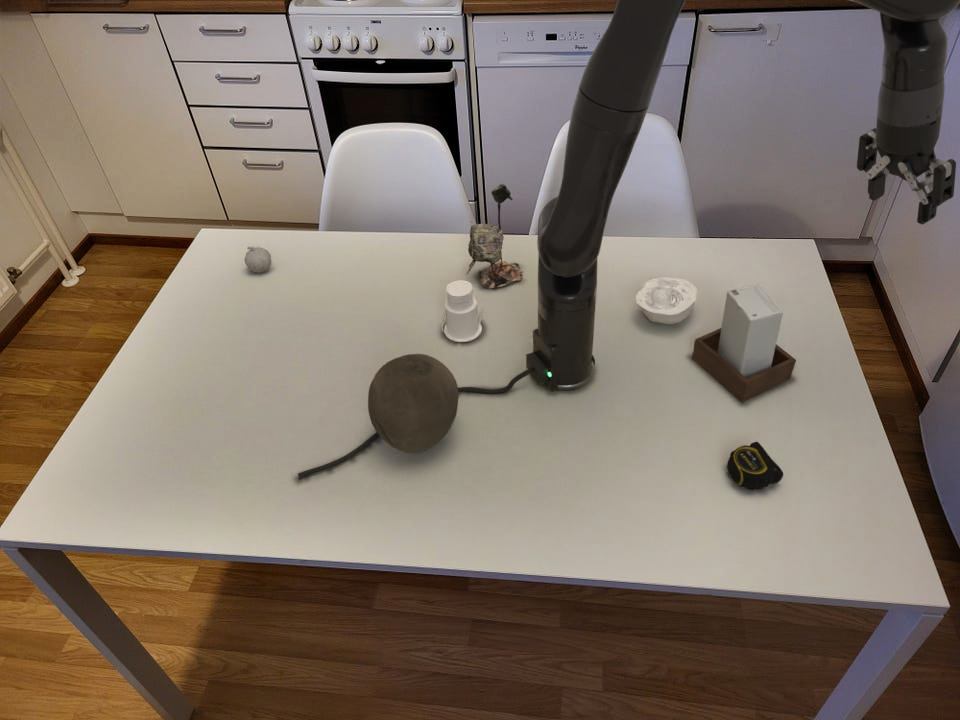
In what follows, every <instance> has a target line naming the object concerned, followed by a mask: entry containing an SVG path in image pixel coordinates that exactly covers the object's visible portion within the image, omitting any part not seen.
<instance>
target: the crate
mask: <svg viewBox="0 0 960 720" xmlns="http://www.w3.org/2000/svg"><path fill="white" fill-rule="evenodd" d="M721 328H722V327H720V328H718V329H715V330H713V331H711V332H709V333H706V334H704V335H702V336H700V337H697V338H695V339H694V345H693V350H692V355H691V359H692V360H694V362H695V363H696V364H698V365H699V366H700V368H702V369H703V370H704V371H706V373H708V374H709V375H710V376H711V377H712V378H713V379H715V380H716V381H717V382H718V384H720V385H721V386H722V387H724V388H725V389H726V390H727V391H728V392H729V393H730V394H731V395H733V396H734V397H735V398H736V399H737V400H738V401H739V402H740V403H741V404H743V403H745V402H746V401H749V400H751V399H753V398H755V397H757V396H759V395H761V394H763V393H765V392H767V391H769V390H772V389H774V388H775V387H778V386H780V385H781V384H784V383H786V382H787V381H789V380H791V379H792V375H793V371H794V368H795V365H796V362H797V359H796V358H795V357H793V356H792V355H791V354H790V353H788V352H787V351H786V350H784V349H783V348H782V347H781V346H779V345H778V344H777V343H776V346H775V351H774V356H773V360H772V365H771V368H769V369H767V370H765V371H763V372H761V373H759V374H757V375H755V376H753V377H751V378H748V379H747V378H745V377H744V376H743V375H742V374H741V373H740V372H738V371H737V370H736V369H735V368H734V367H733V366H731V365H730V364H729V363H728V362H727V361H726V360H724V359H723V358H722V357H721V356H720V355H719V354H717V353H718V346H719V340H720V334H721Z"/></svg>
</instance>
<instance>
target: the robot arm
mask: <svg viewBox="0 0 960 720" xmlns="http://www.w3.org/2000/svg"><path fill="white" fill-rule="evenodd" d="M686 1H687V0H617V2H616V5H615V8H614V12H613V14H612V17H611V20H610V21H609V24H608V25H607V28H606V30H605V31H604V33H603V34H602V37H601V39H600V40H599V41H598V43H597V45H596V46H595V48H594V50H593V52H592V53H591V55H590V57H589V60H588V61H587V63H586V65H585V68H584V71H583V73H582V76H581V79H580V82H579V85H578V90H577V93H576V96H575V99H574V103H573V107H572V112H571V116H570V120H569V125H568V129H567V137H566V144H565V150H564V159H563V160H564V161H563V170H562V177H561V184H560V188H559V191H558V195H557V196H555V197H553V198H552V199H550V200H549V201H548V202H547V203H546V204H545V205H544V206H543V208H542V209H541V211H540V213H539V217H538V222H537V223H538V224H537V225H538V226H537V240H536V244H537V253H538V255H537V328H535V329H533V330H532V352H529V353H526V354H525V358H526V359H525V360H526V363H525V364H526V365H525V367H526V370H524V371H522V372H521V373H518V374H517V375H516V376H514V377H513V378H512V379H511V380H510V381H509V383H508V384H507V385H506V386H503V387H501V388H495V389H493V388H491V389H490V388H482V387H476V386H475V387H473V386H462V387H461V386H460V387H458V394H459V393H476V394H477V393H478V394H484V395H485V394H486V395H499V394H503V393H507V392H509V391H510V390H511V389H512V388H513V387H514V385H515V384H516V383H517V382H519V381H520V380H522V379H524V378H525V377H527V376H529V375H531V376H532V378H533V379H534V381H535V383H536V384H537V385H538V386H539V385H543V384H544V385H545V386H546V387H547V388H548V389H549V391H550V392H555V391H572V390H577V389H579V388H581V387H584V385H586V384H587V383H588V382H589V381H590V379H591V378H592V374H593V366H594V367H595V366H596V359H595V357H594V355H593V354H594V353H593V352H594V335H595V334H594V333H595V318H596V304H597V291H598V290H597V289H598V261H599V259H598V258H599V255H600V252H601V248H602V243H603V238H604V232H605V229H606V224H607V221H608V216H609V210H610V208H611V205H612V201H613V199H614V195H615V193H616V190H617V188H618V186H619V184H620V181H621V179H622V176H623V174H624V173H625V169H626V168H627V165H628V163H629V160H630V157H631V155H632V152H633V149H634V147H635V144H636V142H637V139H638V137H639V134H640V132H641V129H642V126H643V125H644V121H645V118H646V116H647V114H648V113H647V112H648V109H649V107H650V104H651V100H652V98H653V94H654V92H655V88H656V86H657V85H656V84H657V82H658V79H659V75H660V73H661V71H662V67H663V64H664V61H665V57H666V54H667V50H668V48H669V43H670V40H671V37H672V35H673V31H674V28H675V26H676V24H677V21H678V19H679V16H680V14H681V11H682V10H683V8H684V5H685V3H686ZM848 1H850V2H854V3H857V4H860V5H862V6H864V7H866V8H869V9H871V10H874V11H876V12H879V20H880V26H881V33H882V39H883V52H882V53H883V54H882V65H881V80H880V87H879V91H878V95H877V96H878V97H877V110H876V125H875V127H874V128H872V129H870V130H869V131H867V132H865V133H864V134H862V135H860V136H859V140H858V147H857V148H858V149H857V159H856V169H857V171H860V172H862V171H864V173H865V176H866V178H867V193H868V198H869V200H870V201H873V202H875V201H877V200H879V199H880V198H882V197H884V195H885V191H886V177H887V174H886V173H885V172H886V171H888V174H890V175H893V176H896V177H899V178H901V180H903V181H905V182H906V183H907V184H908V186H909V188H910V190H911V191H913V192H916V194H917V196H918V199H919V202H918V209H917V218H916V222H917V223H918V224H920V225H924V224H926V223H928V222H930V221H931V220H934V219H935V218H936V216H937V209H938V207H940V206H941V205H942V204H944V203H945V202H947V201H948V200H951V199H953V197H954V195H955V185H956V184H955V182H956V172H957V161H956V160H955V159H953V158H950V159H948V160H946V161H944V160H942V159H939V158H937V156H936V153H935V147H936V145H937V143H938V141H939V137H940V132H941V123H942V116H943V107H944V101H945V90H946V89H945V87H946V85H945V73H946V65H947V56H948V49H949V48H948V47H949V44H948V43H949V42H948V35H947V33H946V31H945V28H944V26H943V25H942V23H941V19H943V18H944V17H946V16H948V15H949V14H951V13H953V11H954V10H956V8H957V7H958V6H959V5H960V0H848ZM878 154H879V156H880V159H879V160H877V157H878ZM923 174H925V177H924V178H923V179H921V180H920V181H919V180H918V178H920V176H923ZM926 186H927V188H928V189H929V192H928V191H927V189H926ZM379 437H380V436H379V434H378V433H377V432H376V431H375V433H373V434H372V435H371V436H369V438H367V439H366V440H365V441H363V442H362V443H361V444H360V445H359V446H357V447H356V448H354V449H353V450H351V451H350V452H348V453H347V454H345V455H344V456H341V457H340V458H338V459H335V460H333V461H330V462H328V463H325V464H323V465H318V466H316V467H313V468H310V469H309V468H308V469H306V470H304V471H300V472H298V473H297V476H298V479H302V478H305V477H307V476H310V475H313V474H314V475H315V474H317V473H320V472H323V471H326V470H329V469H332V468H334V467H337V466H339V465H341V464H342V463H345V462H346V461H348V460H350V459H352V458H353V457H355V456H356V455H358V454H360V452H361V451H363V450H364V449H366V448H367V447H368V446H369V445H371V444H372V443H373V442H374V441H375V440H376V439H378V438H379Z"/></svg>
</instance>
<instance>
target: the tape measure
mask: <svg viewBox="0 0 960 720" xmlns="http://www.w3.org/2000/svg"><path fill="white" fill-rule="evenodd" d="M726 471H727V473H728V476H729V477H730V479H731V480H732V481H733V482H734V483H735V484H736V485H738V486H739V487H740V488H744V490H750V491H761V490H763V489H765V488H767V487H769V486H771V485H775V484H778V483H779V482H781V481H782V479H783V477H784V472H783V470H782V469H781V467H780V466H779V464H777V463H776V462H775V461H774V460H773V458H772V457H771V456H770V455H769V454H768V452H767V451H766V449H765V448H764V447H763V446H762V444H760V442H759V441H754V442H751V443H750V444H749V445H741V446H739V447H737V448H736V449H734V450H732V451H731V452H730V455H729V458H728V460H727V463H726Z"/></svg>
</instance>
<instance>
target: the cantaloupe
mask: <svg viewBox="0 0 960 720" xmlns="http://www.w3.org/2000/svg"><path fill="white" fill-rule="evenodd" d="M458 388H459V386H458V383H457V380H456V378H455V376H454V374H453V373H452V371H451V370H450V368H448V367H447V366H446V365H445V364H444V363H443V362H442V361H440V360H439V359H437V358H435V357H433V356H431V355H428V354H424V353H411V354H410V353H409V354H405V355H401V356H399V357H395V358H393V359H391V360H389V361H387V362H386V363H385V364H383V365H382V366H381V367H380V368H379V369H378V370H377V371H376V372H375V375H374V376H373V378H372V380H371V381H370V385H369V388H368V395H367V398H368V399H367V410H368V416H369V420H370V422H371V425H372V426H373V429H374V430H375V433H376V432H377V433H378V434H379V437H380V438H381V439H382V440H383V441H384V442H385V443H386V444H388V445H389V446H390V447H391V448H393V449H395V450H398V451H401V452H404V453H407V454H415V453H421V452H424V451H427V450H429V449H431V448H433V447H435V446H436V445H437V444H438V443H440V442H441V441H442V440H443V439H444V438H445V437H446V435H447V434H448V432H449V431H450V429H451V428H452V426H453V424H454V421H455V418H456V416H457V412H458V406H459V393H458Z"/></svg>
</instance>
